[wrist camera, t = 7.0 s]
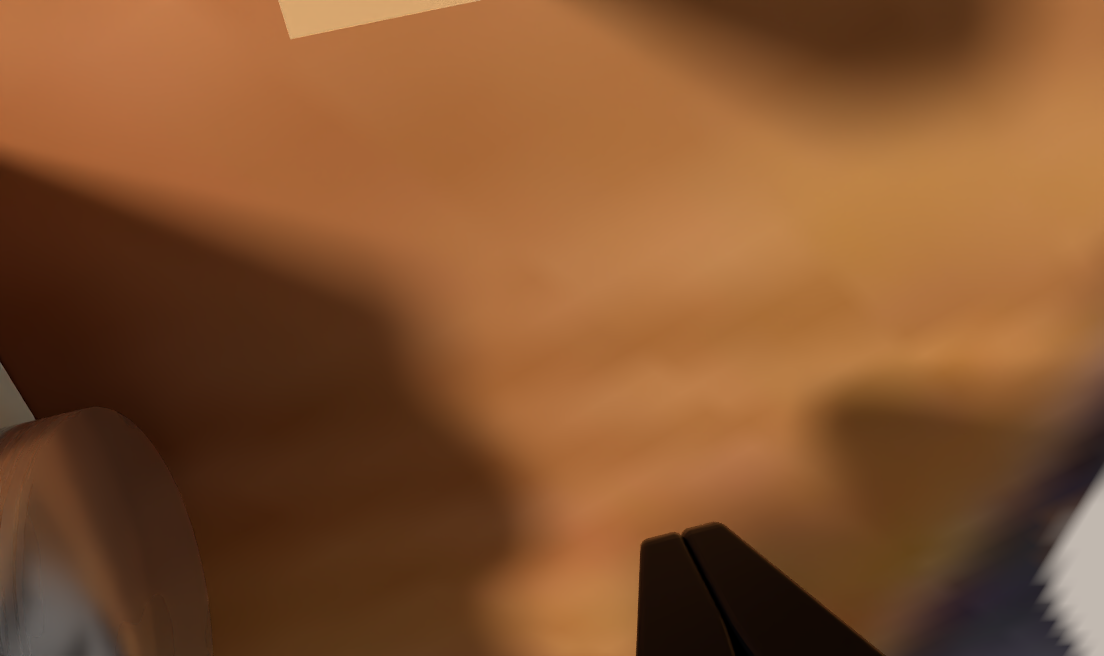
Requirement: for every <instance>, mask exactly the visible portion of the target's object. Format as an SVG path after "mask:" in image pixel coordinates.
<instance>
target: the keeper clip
mask: <svg viewBox="0 0 1104 656" xmlns="http://www.w3.org/2000/svg"><path fill="white" fill-rule="evenodd" d="M278 1H279V4H280V8H281V11H282V14H283V17H284V20H285V24H286V27H287V30H288V33H289V37H290V39H294V38H299V37H304V36H309V35H313V34H318V33H323V32H328V31H333V30H338V29H343V28H347V27H352V26H357V25H362V24H367V23H372V22H377V21H382V20H386V19H391V18H396V17H401V16H406V15H411V14H416V13H421V12H425V11H430V10H435V9H440V8H445V7H450V6H455V5H460V4H464V3H469V2H474V1H479V0H278Z"/></svg>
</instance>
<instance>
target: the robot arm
mask: <svg viewBox="0 0 1104 656" xmlns="http://www.w3.org/2000/svg"><path fill="white" fill-rule="evenodd" d="M636 656H885V655H884V654H883V653H882V652H880V651H879V650H878V649H877V648H875V647H874V646H873V645H872V644H870V643H869V642H868V641H867V640H866V639H864V638H863V637H862V636H861V635H859V634H858V633H857V632H856V631H854V630H853V629H852V628H851V627H850V626H848V625H847V624H846V623H845V622H843V621H842V620H841V619H840V618H838V617H837V616H836V615H835V614H833V613H832V612H831V611H830V610H829V609H827V608H826V607H825V606H824V605H822V604H821V603H820V602H819V601H817V600H816V599H815V598H814V597H813V596H811V595H810V594H809V593H808V592H806V591H805V590H804V589H803V588H801V587H800V586H799V585H798V584H797V583H795V582H794V581H793V580H792V579H790V578H789V577H788V576H787V575H785V574H784V573H783V572H782V571H780V570H779V569H778V568H777V567H776V566H774V565H773V564H772V563H771V562H769V561H768V560H767V559H766V558H764V557H763V556H762V555H761V554H760V553H758V552H757V551H756V550H755V549H753V548H752V547H751V546H750V545H748V544H747V543H746V542H745V541H744V540H742V539H741V538H740V537H739V536H737V535H736V534H735V533H734V532H732V531H731V530H730V529H729V528H727V527H726V526H725V525H724V524H722V523H719V522H711V523H707V524H703V525H699V526H695V527H691V528H687V529H685V530H684V531H683V532H682V534H681V535H680V534H679V533H676V532H671V533H668V534H664V535H660V536H656V537H652V538H648V539H645V540H644V541H643V542H642V544H641V550H640V572H639V596H638V620H637V643H636Z"/></svg>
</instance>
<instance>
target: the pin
mask: <svg viewBox="0 0 1104 656" xmlns="http://www.w3.org/2000/svg"><path fill="white" fill-rule="evenodd" d="M0 656H213V643H212V628H211V618H210V608H209V601H208V594H207V588H206V582H205V577H204V572H203V567H202V562H201V558H200V554H199V550H198V546H197V542H196V539H195V535H194V532H193V528H192V525H191V522H190V519H189V516H188V513H187V510H186V508H185V505H184V502H183V500H182V498H181V495H180V493H179V490H178V488H177V486H176V484H175V482H174V479H173V477H172V475H171V473H170V471H169V469H168V468H167V466H166V464H165V462H164V461H163V459H162V457H161V455H160V454H159V453H158V451H157V450H156V448H155V447H154V445H153V444H152V442H151V441H150V440H149V439H148V438H147V436H146V435H145V434H144V433H143V432H142V431H141V429H140V428H138V427H137V426H136V425H135V424H134V423H133V422H132V421H131V420H130V419H128V418H127V417H125V416H123V415H122V414H120V413H119V412H116V411H114V410H111V409H109V408H103V407H90V408H84V409H80V410H76V411H72V412H67V413H63V414H59V415H55V416H50V417H46V418H42V419H37V420H33V421H29V422H25V423H20V424H16V425H12V426H8V427H3V428H0Z"/></svg>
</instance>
